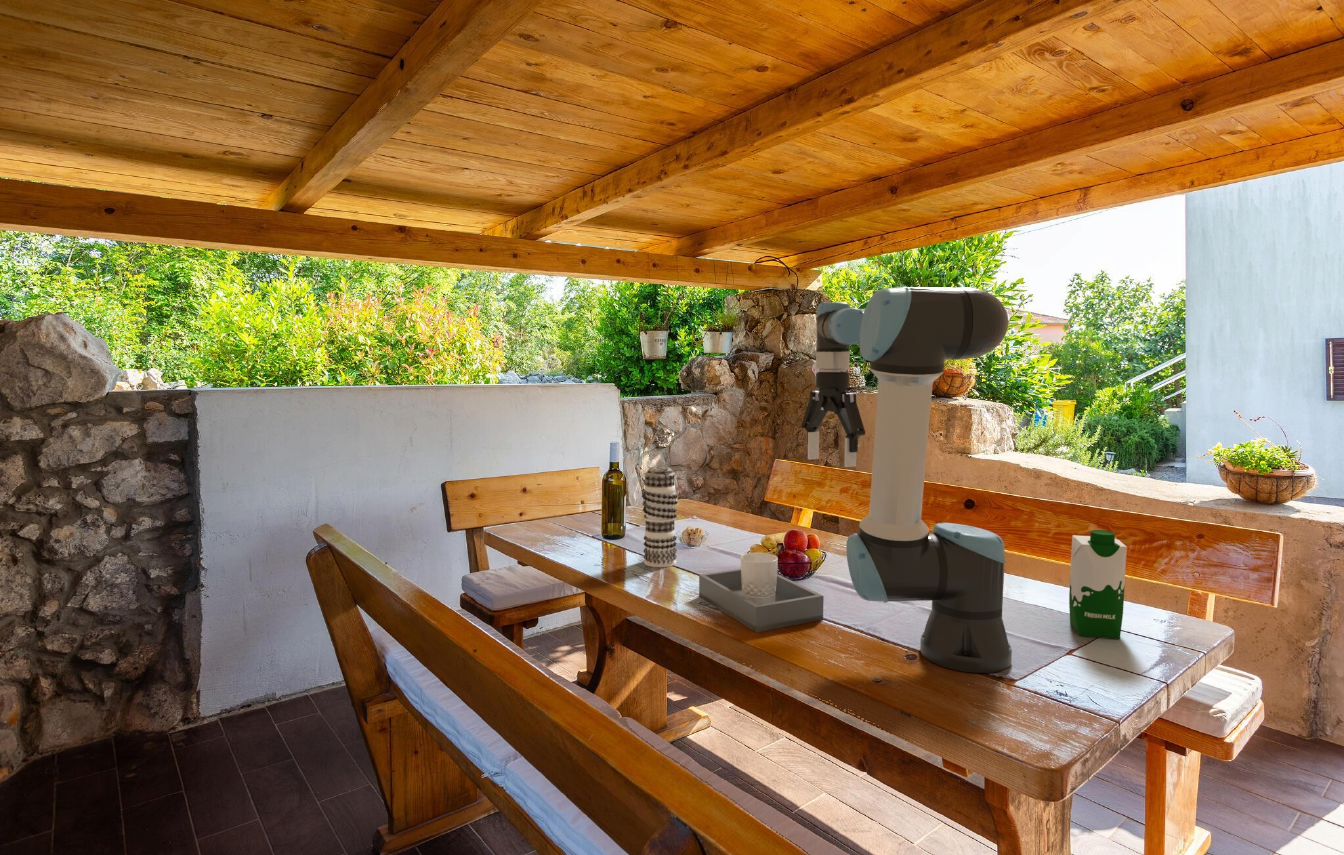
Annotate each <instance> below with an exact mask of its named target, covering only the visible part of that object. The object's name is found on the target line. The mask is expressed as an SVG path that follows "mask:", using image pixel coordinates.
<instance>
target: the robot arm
mask: <svg viewBox="0 0 1344 855" xmlns="http://www.w3.org/2000/svg"><path fill="white" fill-rule="evenodd" d="M815 320H816V352H815V354H816V355H815V369H816V370H818V371H817V372H816V373H815V387H816V388H817V389H819V390H811V391H810V392H809V400H808V404H807V407H806V410H805V413H804V416H803V419H802V422H801V425H800V427H801V428H802V429H805V431H806V432H807V434H806V435H807V441H806V442H807V460H819V459H820V430H819V427H820V426H821V423H822V422H823V420H824V419H825V417H826V415H827V413H829V412H831V413H834V414H835V415H837V418H838V420H839V422H840V424H841V426H842V428H843V430H844V431H845V434H846V435H845V438H844V468H853V467H857V453H858V450H859V449H858V448H859V446H858V445H859V437H862V436H865V435H866V430H865V426H864V423H863V421H862V416H861V413H860V410H859V407H858V403H857V394H856V392H847V391H846V390H847V389H848V388H849V387H850V373H849V372H848V370H849V369H850V355H851V353H850V351H851V345H859V351H860V355H861V358H863V359H864V360H866V361H868V362H869V363H870V364H869V370H870V372H871V373H872V374H873V375H874V376H875V377H876V378H877V382H878V384H877V398H876V410H875V425H874V437H873V438H874V439H873V441H874V442H873V452H872V453H873V456H872V470H871V482H870V484H871V486H870V496H869V497H870V499H869V510H868V512H869V513H868V514H867V515H866V516H865V517H863V518H862V519H861V520H860V521H859V526H858V528H859V529H858V533H853V534H850V535H849V536H848V537H847V540H846V545H845V546H846V548H845V549H846V559H847V566H848V572H849V575H850V579H851V582H852V583H851V584H852V585H853V587H854V590H855V591H856V593H857V595H858V596H859V597H860V598H861V599H862V600H864V601H867V602H883V603H886V604H887V603H888V602H923V601H924V602H925V601H926V602H928V601H929V602H930V601H931V611H930V613H929V616H928V618H927V621H926V624H925V627H924V631H923V632H922V634H921V637H920V647H919V648H920V649H919V650H920V654H921V655H922V656H923V657H924V658H925V659H926V660H928V661H929V662H932V663H933V664H935V665H938V666H939V667H940V666H941V667H943V668H946V669H950V670H954V671H960V672H965V673H974V674H976V673H977V674H986V673H987V674H989V673H996V672H1002V671H1004V670H1006V669H1009V667H1010V666H1011V665H1012V661H1013V660H1012V657H1013V655H1012V654H1013V650H1012V646H1011V644H1010V643H1009V640H1008V636H1007V632H1006V628H1005V624H1004V620H1003V606H1004V605H1003V603H1004V602H1003V601H1004V599H1003V598H1004V581H1005V580H1004V579H1005V564H1006V557H1005V555H1006V554H1005V543H1004V541H1003V538H1002V537H1001V536H999V535H998V534H997V533H994V532H992V531H990V530H987V529H984V528H979V527H978V526H977V527H976V526H971V525H967V524H961V523H954V522H953V523H952V522H940V523H936V524H934V525H933V526H934V527H933V528H932V532H933V533H932V532H931V533H930V528H929V527H928V525H927V524H926V523H925V522H924V521H923V520H922V513H923V512H922V511H923V510H922V509H923V500H924V499H923V498H924V488H925V486H924V485H925V478H926V476H925V474H926V466H927V452H928V441H929V428H930V419H931V418H930V417H931V408H932V407H931V406H932V394H933V384H934V382H935V381H936V380H937V379H938V378H939V377H941V376H942V375H944V370H945V362H946V361H951V360H953V361H955V360H970V359H974V358H978V357H981V356H984V355H986V354H988V353H990V352H992V351H993V350H994V349H996V348H997V347H999V345H1000V344H1001V342H1002V343H1003V341H1004V338H1005V336H1006V335H1007V332H1008V329H1009V315H1008V312H1007V310H1006V307H1005V306H1004V304H1003V303H1002V302H1001V300H999V299H998V298H997V296H994V295H993V294H992V293H990V292H987V291H986V290H982V289H979V288H974V287H973V288H972V287H964V286H963V287H961V286H960V287H940V286H939V287H937V286H936V287H934V286H933V287H932V286H931V287H930V286H928V287H927V286H926V287H924V286H922V287H921V286H920V287H919V286H916V287H915V286H913V287H912V286H910V287H909V286H899V287H888V288H887V287H886V288H882V289H879V290H877V291H876V292H875V293H874V294H872V296H871V298H869V300H868V301H867V305H866V306H865V308H856V307H851V305H850V304H849V303H848V302H841V301H837V302H833V301H832V302H822V303H819V305H818V306H817V311H816V317H815Z"/></svg>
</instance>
